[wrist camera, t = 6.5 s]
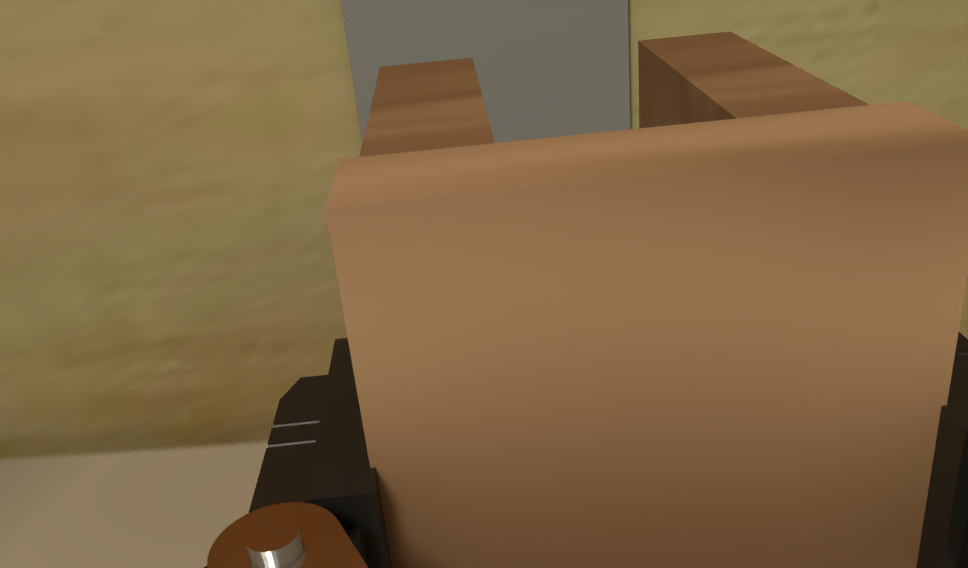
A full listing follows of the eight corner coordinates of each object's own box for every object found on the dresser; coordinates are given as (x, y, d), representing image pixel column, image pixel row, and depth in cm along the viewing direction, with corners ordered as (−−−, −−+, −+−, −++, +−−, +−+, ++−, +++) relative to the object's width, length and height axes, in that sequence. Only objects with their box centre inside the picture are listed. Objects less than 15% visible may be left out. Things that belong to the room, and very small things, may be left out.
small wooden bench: (369, 58, 14) (324, 208, 8) (739, 21, 14) (988, 139, 8) (426, 464, 18) (427, 797, 11) (725, 432, 18) (892, 743, 11)
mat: (367, 169, 37) (366, 172, 37) (332, -61, 33) (331, -60, 33) (628, 142, 37) (630, 144, 37) (623, -90, 33) (626, -90, 33)
